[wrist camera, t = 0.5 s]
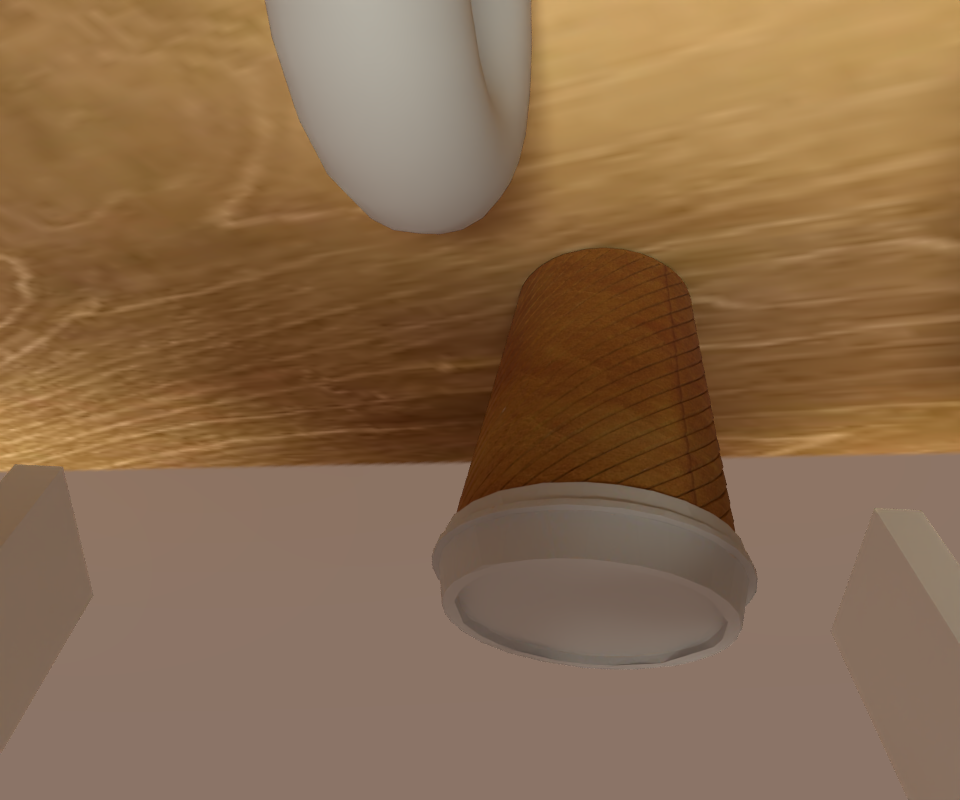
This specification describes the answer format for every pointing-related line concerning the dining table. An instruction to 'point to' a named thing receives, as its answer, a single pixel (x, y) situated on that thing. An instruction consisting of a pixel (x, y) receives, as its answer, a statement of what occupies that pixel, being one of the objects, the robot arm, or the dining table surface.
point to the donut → (411, 101)
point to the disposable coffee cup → (598, 481)
